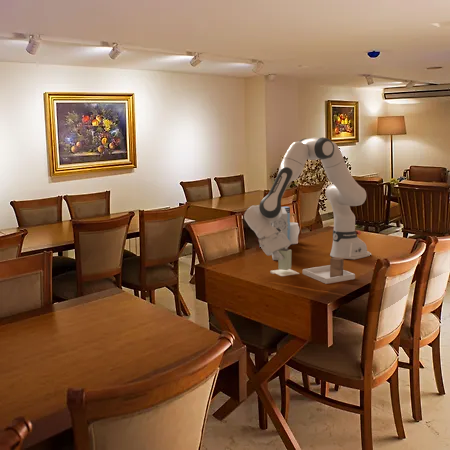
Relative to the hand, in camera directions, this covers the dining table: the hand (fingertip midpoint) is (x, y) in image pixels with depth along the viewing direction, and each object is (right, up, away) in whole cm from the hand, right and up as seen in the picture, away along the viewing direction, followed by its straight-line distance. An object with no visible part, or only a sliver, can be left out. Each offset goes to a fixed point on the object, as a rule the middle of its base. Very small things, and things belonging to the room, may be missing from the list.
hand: (286, 257), depth 238 cm
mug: (+13, +5, +70) cm, 72 cm away
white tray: (+19, -9, -6) cm, 22 cm away
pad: (0, -8, +2) cm, 8 cm away
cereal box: (+1, -1, +38) cm, 38 cm away
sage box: (0, -5, +1) cm, 5 cm away
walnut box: (+22, -9, -8) cm, 25 cm away
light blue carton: (+1, +3, +60) cm, 60 cm away
